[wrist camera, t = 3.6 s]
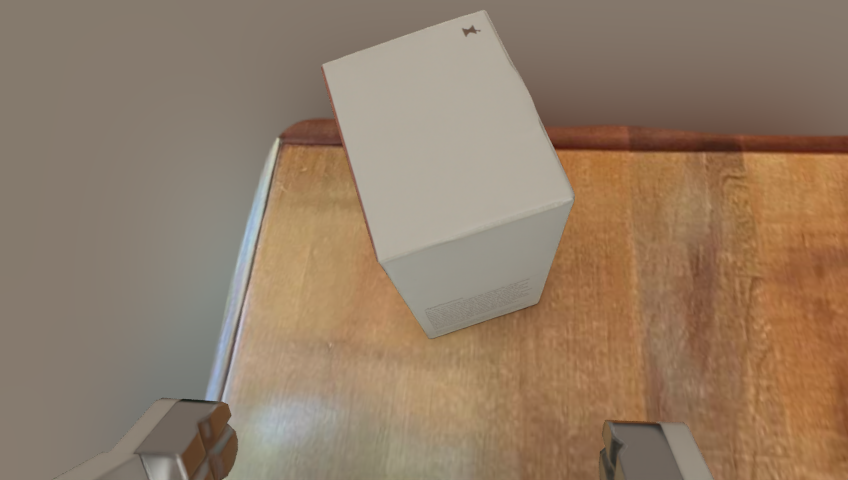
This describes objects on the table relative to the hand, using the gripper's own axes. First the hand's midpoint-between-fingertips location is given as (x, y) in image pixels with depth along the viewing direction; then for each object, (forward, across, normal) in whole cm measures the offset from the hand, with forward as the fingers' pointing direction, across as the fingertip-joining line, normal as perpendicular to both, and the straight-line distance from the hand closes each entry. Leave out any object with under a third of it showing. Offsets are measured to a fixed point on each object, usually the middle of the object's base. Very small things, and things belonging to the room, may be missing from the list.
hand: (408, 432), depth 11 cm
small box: (+17, 0, +4) cm, 18 cm away
